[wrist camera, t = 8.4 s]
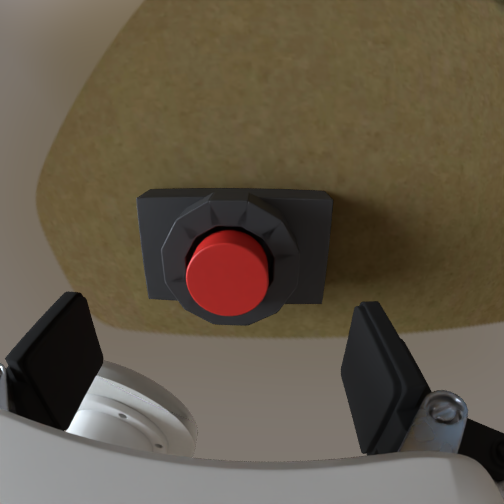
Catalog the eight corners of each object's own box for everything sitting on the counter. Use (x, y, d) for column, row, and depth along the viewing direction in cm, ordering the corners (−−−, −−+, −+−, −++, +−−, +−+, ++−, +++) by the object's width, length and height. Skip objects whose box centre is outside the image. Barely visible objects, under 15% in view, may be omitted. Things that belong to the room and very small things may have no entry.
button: (195, 296, 16) (189, 315, 14) (190, 228, 14) (182, 242, 13) (266, 298, 16) (267, 318, 14) (269, 229, 14) (270, 244, 13)
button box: (159, 285, 20) (139, 319, 16) (149, 184, 17) (121, 201, 14) (315, 289, 20) (326, 326, 16) (325, 186, 17) (342, 203, 13)
